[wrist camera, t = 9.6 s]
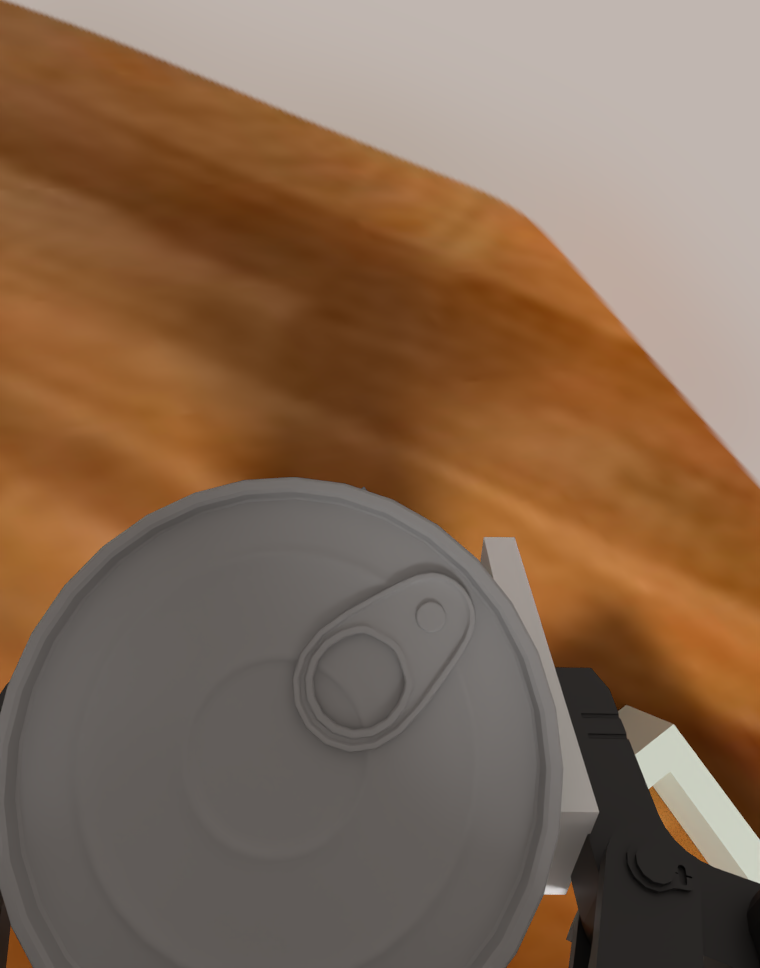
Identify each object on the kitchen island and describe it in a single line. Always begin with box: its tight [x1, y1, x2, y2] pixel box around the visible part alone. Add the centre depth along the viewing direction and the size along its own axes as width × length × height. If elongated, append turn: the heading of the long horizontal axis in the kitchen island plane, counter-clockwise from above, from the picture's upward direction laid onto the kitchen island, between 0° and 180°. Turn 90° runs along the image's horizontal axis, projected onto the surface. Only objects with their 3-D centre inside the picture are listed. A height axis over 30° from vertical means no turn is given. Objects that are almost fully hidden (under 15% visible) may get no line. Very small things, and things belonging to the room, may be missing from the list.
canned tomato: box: [0, 477, 563, 968], centre depth 13 cm, size 8×8×11 cm
